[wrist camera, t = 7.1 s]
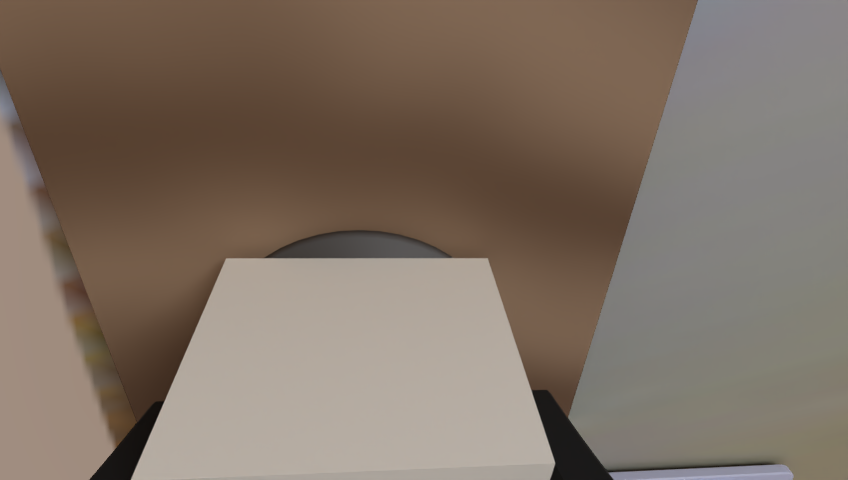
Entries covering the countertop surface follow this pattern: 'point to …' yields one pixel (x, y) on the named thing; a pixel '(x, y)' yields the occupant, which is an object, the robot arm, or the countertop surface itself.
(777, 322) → the countertop surface
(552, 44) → the post board
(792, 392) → the countertop surface
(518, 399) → the collar
